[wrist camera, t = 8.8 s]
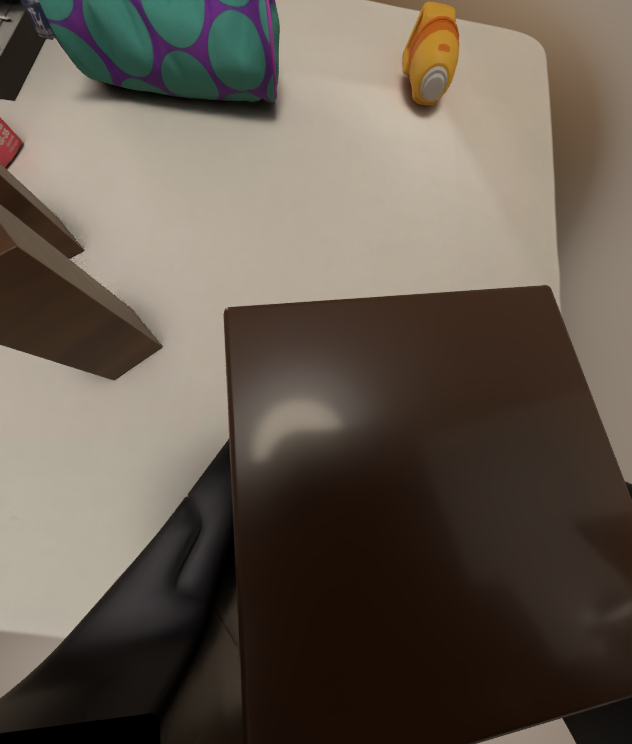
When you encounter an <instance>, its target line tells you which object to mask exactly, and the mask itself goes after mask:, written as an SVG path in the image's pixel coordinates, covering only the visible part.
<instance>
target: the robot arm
mask: <svg viewBox="0 0 632 744" xmlns="http://www.w3.org/2000/svg"><path fill="white" fill-rule="evenodd" d="M625 484H626V486H627V489H628V492H629V494H630V497H631V499H632V484H630V483H628V482H625ZM563 720H564V722H565V724H566V725H567V727H568V729H569V731H570V732H571V734H572V736H573V738H574V740H575V742H576V744H632V697H630V698H627V699H624V700H620V701H617V702H614V703H610V704H607V705H604V706H600V707H597V708H594V709H590V710H587V711H584V712H580V713H577V714H574V715H570V716H567V717H564V718H563ZM0 744H244V734H243V713H242V692H241V671H240V650H239V629H238V608H237V587H236V565H235V544H234V523H233V502H232V481H231V460H230V439H228V441H227V442H226V443H225V445H224V446H223V448H222V449H221V450H220V452H219V453H218V454H217V456H216V457H215V458H214V460H213V461H212V462H211V464H210V465H209V466H208V468H207V469H206V470H205V472H204V473H203V474H202V476H201V477H200V478H199V480H198V481H197V482H196V484H195V485H194V486H193V488H192V489H191V490H190V492H189V493H188V497H185V498H184V500H183V501H182V502H181V504H180V505H179V506H178V508H177V509H176V510H175V512H174V513H173V514H172V515H171V517H170V518H169V519H168V521H167V522H166V523H165V524H164V526H163V527H162V528H161V530H160V531H159V532H158V533H157V535H156V536H155V537H154V538H153V539H152V540H151V542H150V543H149V544H148V545H147V546H146V547H145V549H144V550H143V551H142V552H141V553H140V555H139V556H138V557H137V558H136V559H135V560H134V561H133V563H132V564H131V565H130V566H129V567H128V568H127V569H126V571H125V572H124V573H123V574H122V575H121V576H120V577H119V579H118V580H117V581H116V582H115V583H114V584H113V585H112V586H111V588H110V589H109V590H108V591H107V592H106V593H105V594H104V596H103V597H102V598H101V599H100V600H99V601H98V602H97V603H96V605H95V606H94V607H93V608H92V609H91V610H90V611H89V613H88V614H87V615H86V616H85V617H84V618H83V619H82V620H81V622H80V623H79V624H78V625H77V626H76V627H75V628H74V630H73V631H72V632H71V633H70V634H69V635H68V636H67V637H66V638H65V639H64V641H63V642H62V643H61V644H60V645H59V646H58V647H57V648H56V649H55V650H54V651H53V652H52V653H51V654H50V655H49V656H48V657H47V658H46V659H45V660H44V661H43V662H42V663H41V664H40V665H39V666H38V667H37V668H36V669H34V670H33V671H32V672H31V673H30V674H29V675H28V676H27V677H26V678H25V679H23V680H22V681H21V682H20V683H19V684H17V685H16V686H15V687H14V688H13V689H11V690H10V691H9V692H8V693H6V694H5V695H4V696H3V697H1V698H0Z"/></svg>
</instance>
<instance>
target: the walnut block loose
mask: <svg viewBox="0 0 632 744" xmlns="http://www.w3.org/2000/svg"><path fill="white" fill-rule="evenodd" d="M224 333H225V354H226V376H227V397H228V418H229V439H230V460H231V481H232V502H233V523H234V544H235V565H236V587H237V608H238V629H239V650H240V671H241V692H242V713H243V734H244V744H477V743H480V742H483V741H487V740H490V739H493V738H497V737H500V736H503V735H507V734H510V733H513V732H517V731H520V730H523V729H527V728H530V727H533V726H536V725H540V724H544V723H547V722H550V721H553V720H557V719H560V718H564V717H567V716H570V715H574V714H577V713H580V712H584V711H587V710H590V709H594V708H597V707H600V706H604V705H607V704H610V703H614V702H617V701H620V700H624V699H627V698H630V697H632V499H631V497H630V494H629V492H628V489H627V486H626V484H625V481H624V478H623V476H622V473H621V471H620V468H619V465H618V463H617V460H616V458H615V455H614V452H613V450H612V447H611V444H610V442H609V439H608V437H607V434H606V431H605V429H604V426H603V424H602V421H601V419H600V416H599V413H598V410H597V408H596V405H595V403H594V400H593V397H592V395H591V392H590V390H589V387H588V384H587V382H586V379H585V376H584V374H583V371H582V368H581V366H580V363H579V361H578V358H577V355H576V353H575V350H574V347H573V345H572V342H571V340H570V337H569V334H568V332H567V329H566V327H565V324H564V321H563V319H562V316H561V313H560V311H559V308H558V305H557V303H556V300H555V298H554V295H553V292H552V290H551V288H550V287H549V286H547V285H543V286H528V287H514V288H499V289H485V290H471V291H456V292H442V293H427V294H413V295H398V296H384V297H370V298H355V299H341V300H326V301H312V302H297V303H283V304H269V305H254V306H240V307H228V308H226V309H225V311H224Z"/></svg>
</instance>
